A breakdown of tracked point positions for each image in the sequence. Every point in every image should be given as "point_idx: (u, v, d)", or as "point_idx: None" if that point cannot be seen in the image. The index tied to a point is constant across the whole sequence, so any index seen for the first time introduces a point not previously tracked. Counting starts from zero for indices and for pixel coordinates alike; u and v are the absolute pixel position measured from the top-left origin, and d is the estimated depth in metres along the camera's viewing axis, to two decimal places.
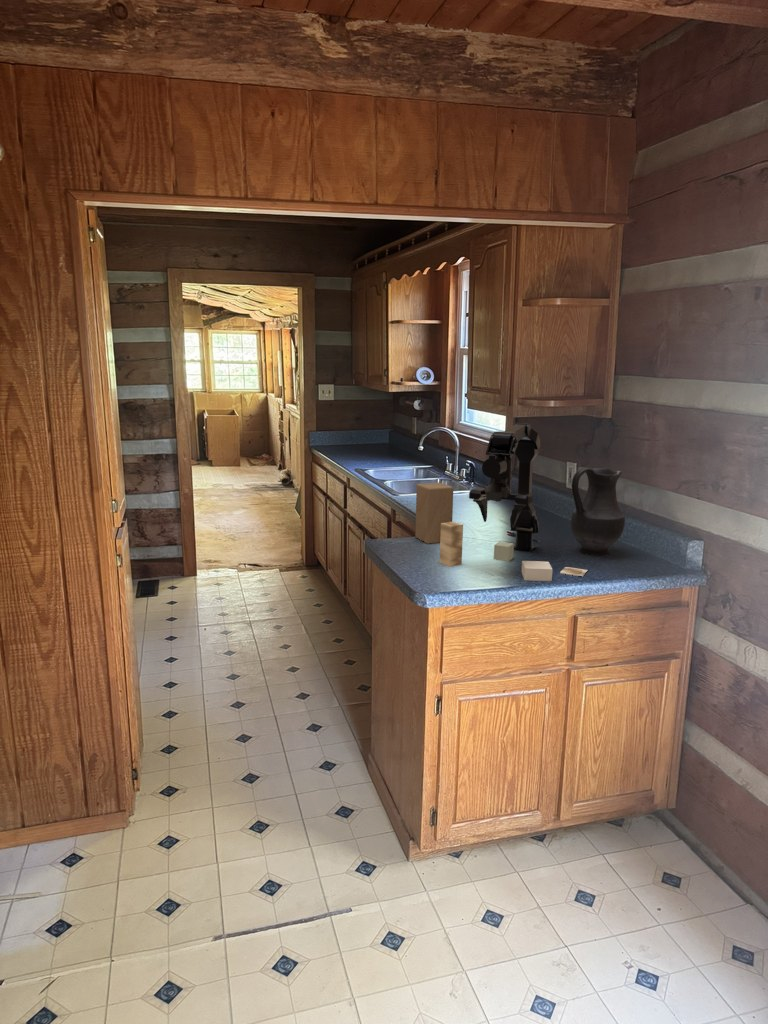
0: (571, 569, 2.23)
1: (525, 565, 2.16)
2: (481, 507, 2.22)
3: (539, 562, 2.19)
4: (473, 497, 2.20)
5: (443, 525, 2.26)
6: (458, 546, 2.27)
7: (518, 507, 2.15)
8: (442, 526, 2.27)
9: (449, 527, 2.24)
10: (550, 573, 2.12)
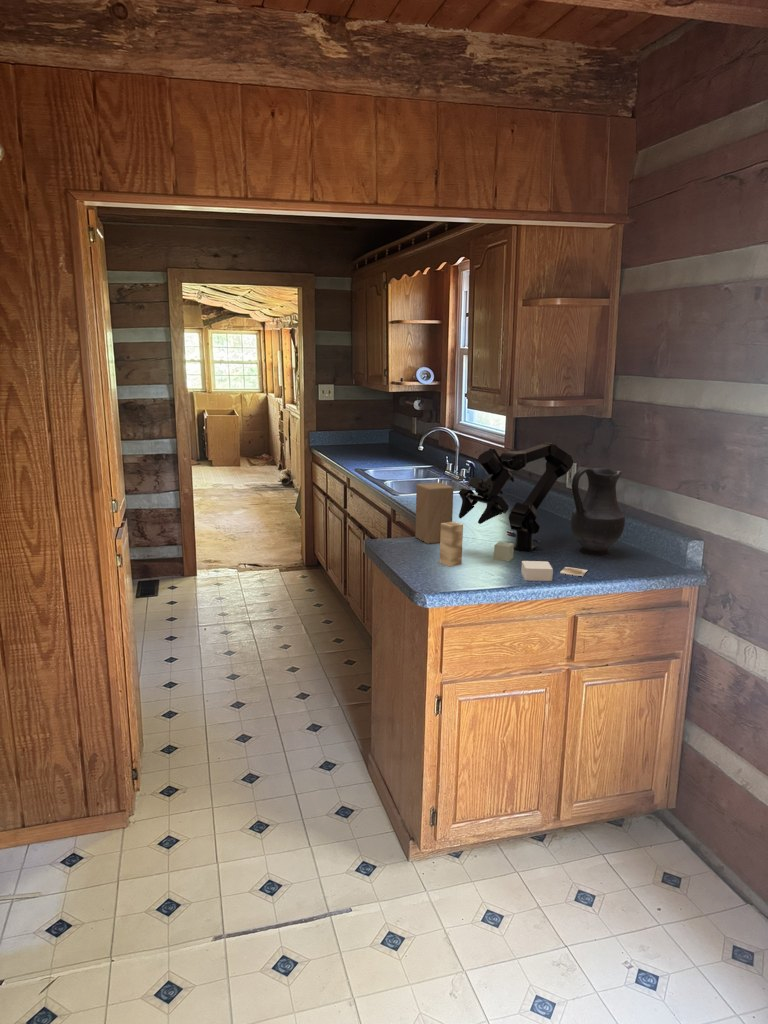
0: (571, 569, 2.23)
1: (525, 565, 2.15)
2: (463, 504, 2.36)
3: (539, 562, 2.19)
4: (461, 492, 2.37)
5: (443, 525, 2.26)
6: (458, 546, 2.27)
7: (490, 504, 2.26)
8: (442, 526, 2.27)
9: (449, 527, 2.24)
10: (550, 573, 2.13)
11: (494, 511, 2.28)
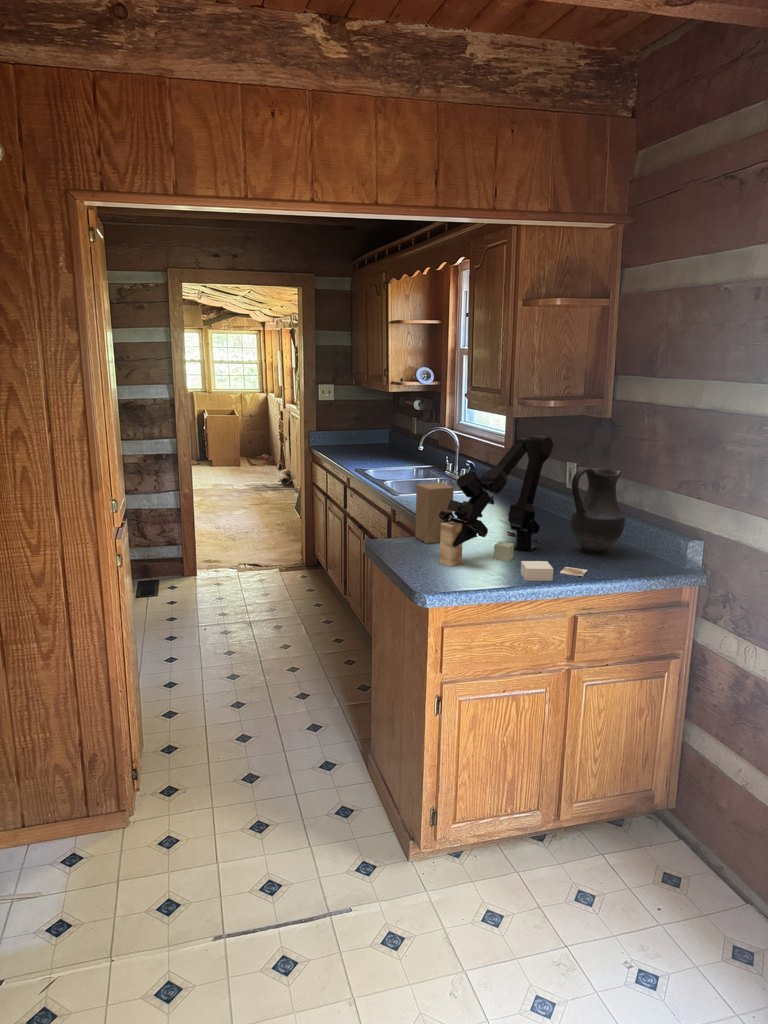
0: (571, 569, 2.23)
1: (525, 565, 2.15)
2: None
3: (538, 562, 2.19)
4: (441, 514, 2.34)
5: (443, 525, 2.26)
6: (458, 546, 2.27)
7: (465, 527, 2.24)
8: (442, 526, 2.27)
9: (449, 527, 2.24)
10: (551, 573, 2.13)
11: (469, 534, 2.26)
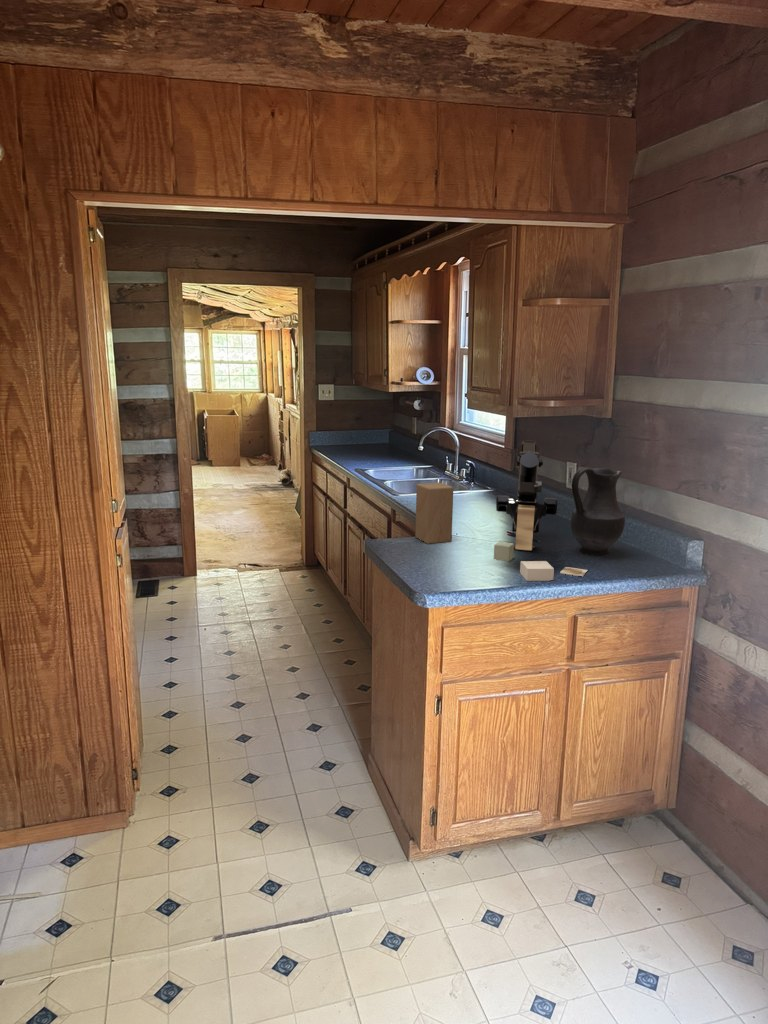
0: (571, 569, 2.23)
1: (526, 566, 2.15)
2: (514, 512, 2.23)
3: (538, 562, 2.19)
4: (501, 499, 2.24)
5: (522, 509, 2.19)
6: None
7: (541, 507, 2.21)
8: (519, 511, 2.19)
9: (531, 510, 2.18)
10: (552, 572, 2.13)
11: (539, 514, 2.24)
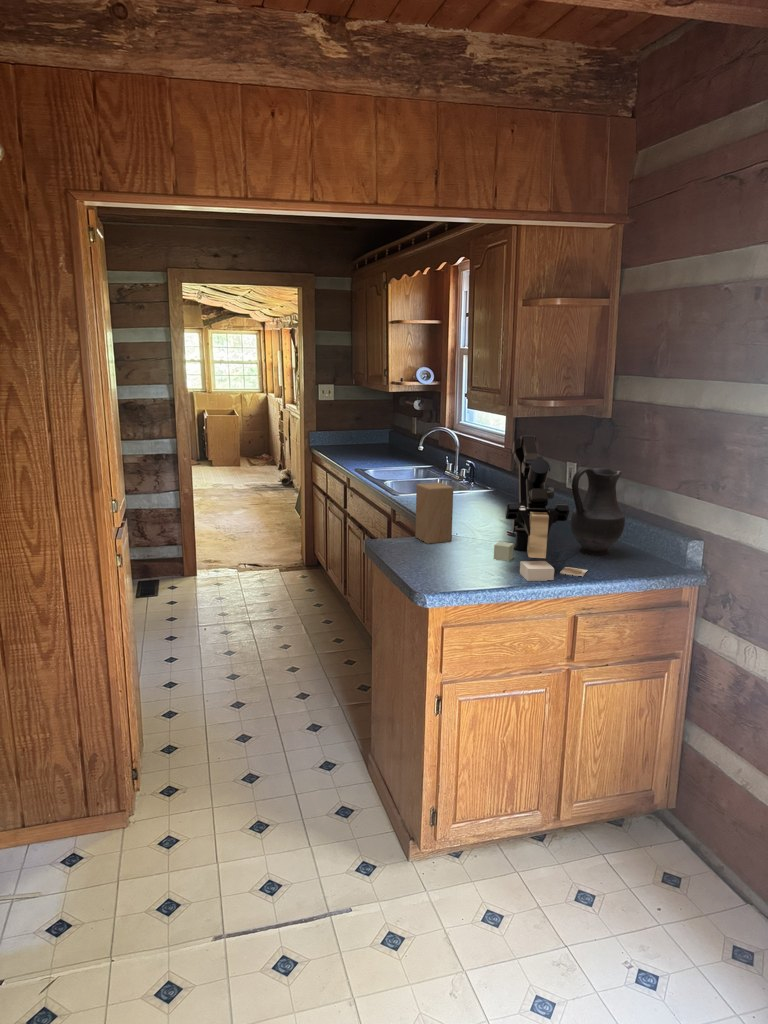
0: (571, 569, 2.23)
1: (526, 566, 2.15)
2: (526, 520, 2.17)
3: (537, 562, 2.19)
4: (513, 507, 2.18)
5: (536, 516, 2.13)
6: None
7: (553, 514, 2.16)
8: (533, 518, 2.13)
9: (546, 517, 2.13)
10: (552, 572, 2.13)
11: None
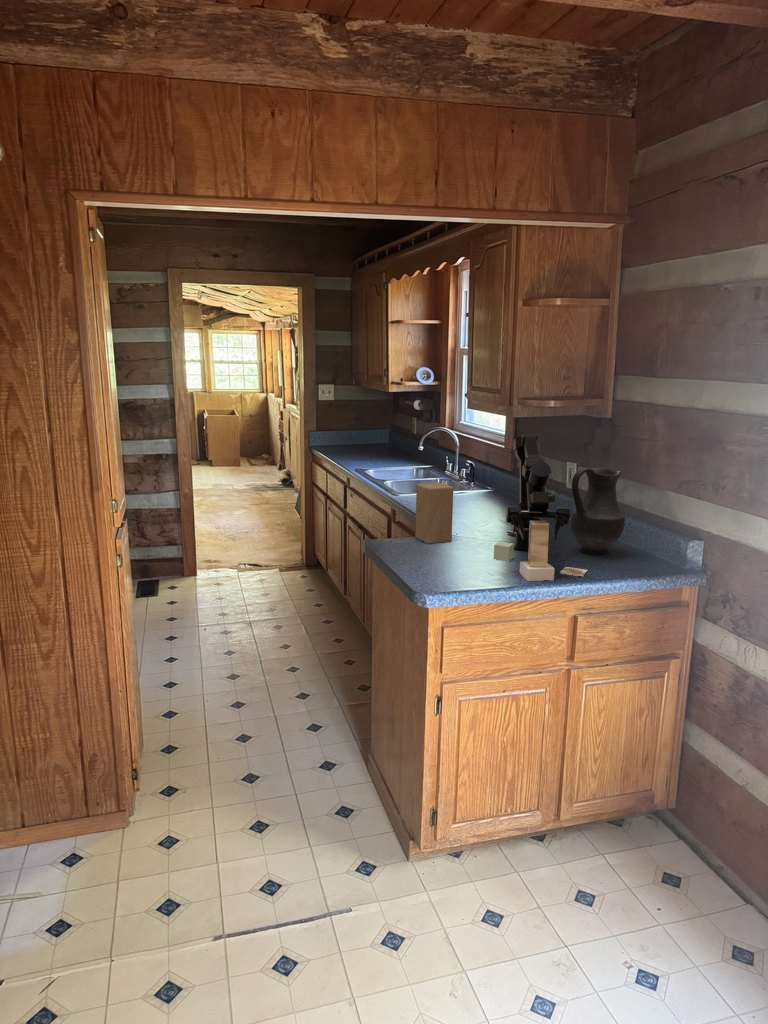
0: (571, 569, 2.23)
1: (526, 566, 2.15)
2: (520, 523, 2.15)
3: None
4: (513, 510, 2.15)
5: (536, 525, 2.12)
6: None
7: (561, 518, 2.14)
8: (534, 527, 2.12)
9: (546, 525, 2.12)
10: (552, 572, 2.13)
11: None
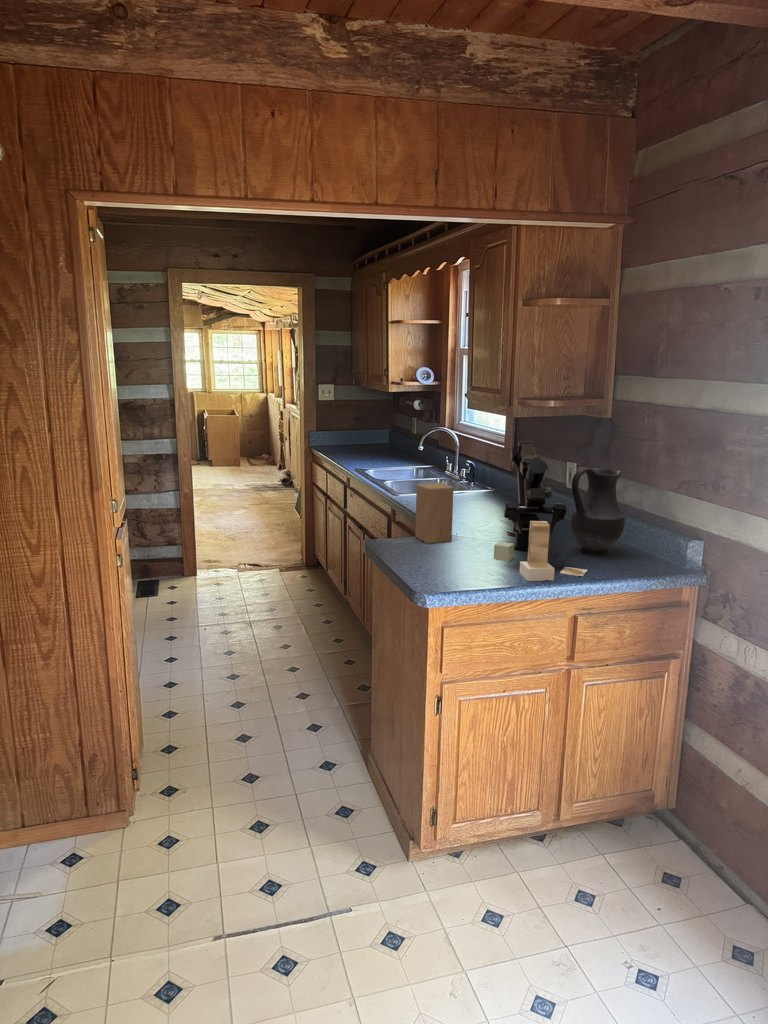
0: (571, 569, 2.23)
1: (526, 566, 2.15)
2: (518, 518, 2.22)
3: None
4: (511, 506, 2.22)
5: (537, 526, 2.11)
6: None
7: (557, 513, 2.21)
8: (534, 528, 2.11)
9: (547, 527, 2.11)
10: (552, 572, 2.13)
11: None
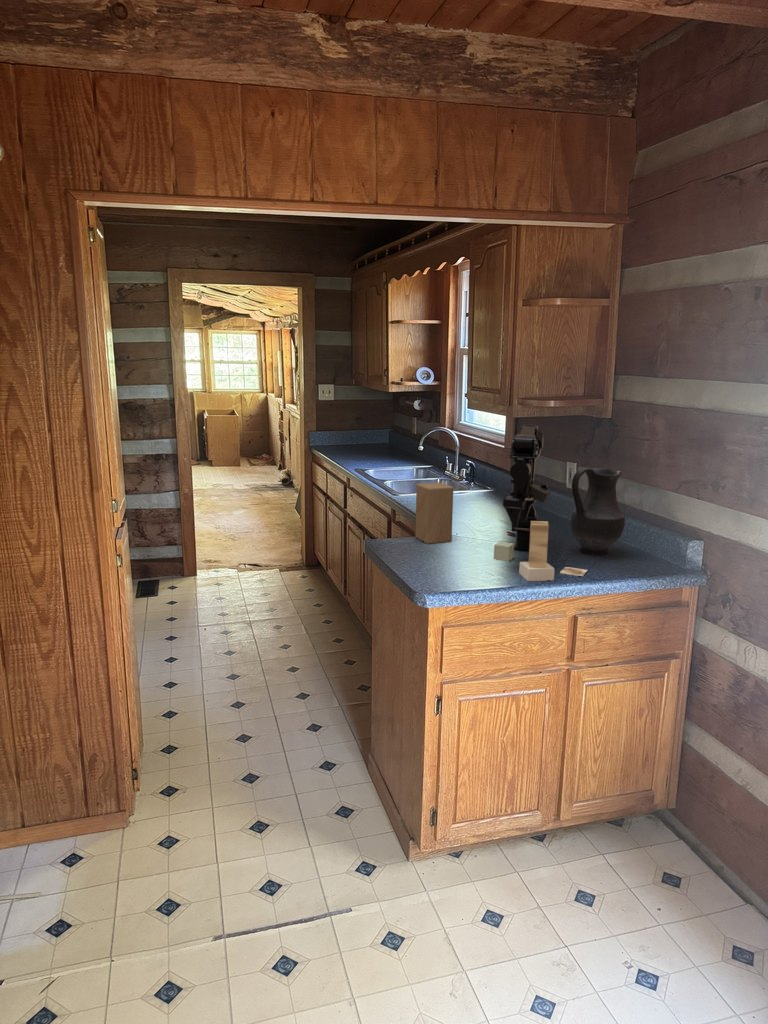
0: (571, 569, 2.23)
1: (526, 566, 2.15)
2: (519, 514, 2.21)
3: None
4: (523, 505, 2.17)
5: (535, 525, 2.11)
6: None
7: None
8: (533, 527, 2.12)
9: (545, 526, 2.11)
10: (552, 572, 2.13)
11: None
